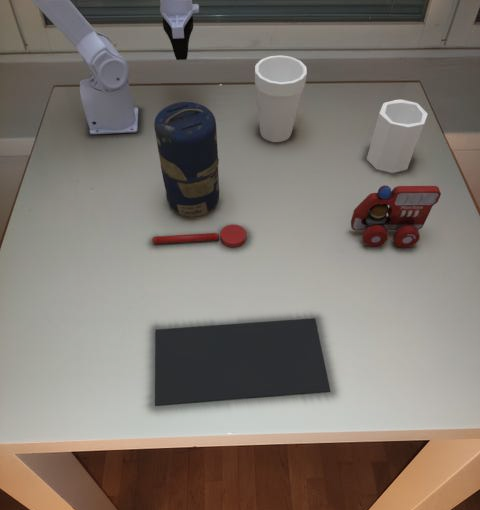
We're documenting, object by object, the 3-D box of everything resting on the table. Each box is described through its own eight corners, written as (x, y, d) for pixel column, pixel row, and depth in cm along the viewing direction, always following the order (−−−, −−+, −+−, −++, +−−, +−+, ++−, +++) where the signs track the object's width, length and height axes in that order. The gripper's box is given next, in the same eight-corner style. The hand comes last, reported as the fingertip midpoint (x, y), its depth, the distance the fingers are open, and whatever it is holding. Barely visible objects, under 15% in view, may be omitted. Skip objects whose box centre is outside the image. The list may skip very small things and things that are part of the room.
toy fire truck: (346, 217, 84) (359, 169, 75) (416, 219, 83) (437, 171, 75) (350, 247, 80) (364, 200, 71) (424, 249, 80) (447, 202, 71)
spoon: (152, 252, 79) (151, 247, 78) (153, 233, 81) (152, 228, 80) (247, 246, 80) (247, 241, 79) (244, 227, 82) (244, 222, 81)
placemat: (155, 405, 64) (154, 404, 64) (155, 330, 70) (155, 329, 70) (330, 391, 65) (330, 390, 65) (314, 319, 72) (315, 318, 72)
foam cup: (247, 142, 95) (249, 79, 84) (258, 115, 100) (261, 52, 89) (294, 150, 93) (301, 87, 83) (302, 122, 98) (311, 59, 87)
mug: (414, 173, 90) (432, 127, 82) (369, 172, 90) (382, 126, 82) (403, 133, 97) (418, 87, 88) (361, 133, 97) (372, 87, 88)
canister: (224, 216, 83) (222, 125, 68) (171, 225, 82) (156, 134, 67) (213, 180, 89) (209, 88, 73) (163, 188, 87) (148, 96, 72)
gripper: (198, -2, 79) (203, 77, 90) (195, -39, 87) (200, 38, 98) (156, -1, 79) (166, 79, 90) (156, -38, 86) (165, 39, 98)
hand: (181, 58), depth 94 cm, fingers closed
